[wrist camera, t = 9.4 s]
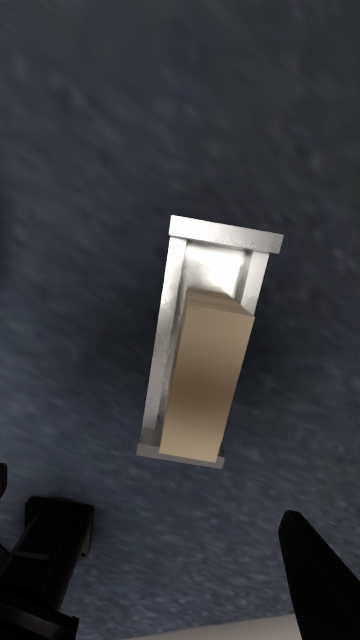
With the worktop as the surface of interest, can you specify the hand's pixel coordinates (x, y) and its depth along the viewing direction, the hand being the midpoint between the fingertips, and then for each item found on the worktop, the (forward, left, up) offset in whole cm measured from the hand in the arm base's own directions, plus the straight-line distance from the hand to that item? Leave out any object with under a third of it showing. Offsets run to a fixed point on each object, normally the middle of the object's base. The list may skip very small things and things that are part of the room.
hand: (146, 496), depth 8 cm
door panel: (+2, -2, -11) cm, 12 cm away
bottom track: (+2, -2, -12) cm, 12 cm away
